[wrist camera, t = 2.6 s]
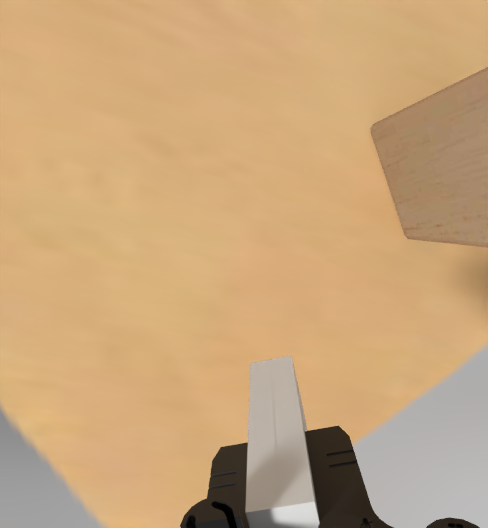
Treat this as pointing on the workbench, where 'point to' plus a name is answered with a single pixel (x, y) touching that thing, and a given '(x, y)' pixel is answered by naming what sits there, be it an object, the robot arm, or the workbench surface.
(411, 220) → the wooden block
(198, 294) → the workbench surface
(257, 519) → the robot arm
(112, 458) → the workbench surface
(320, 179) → the workbench surface
